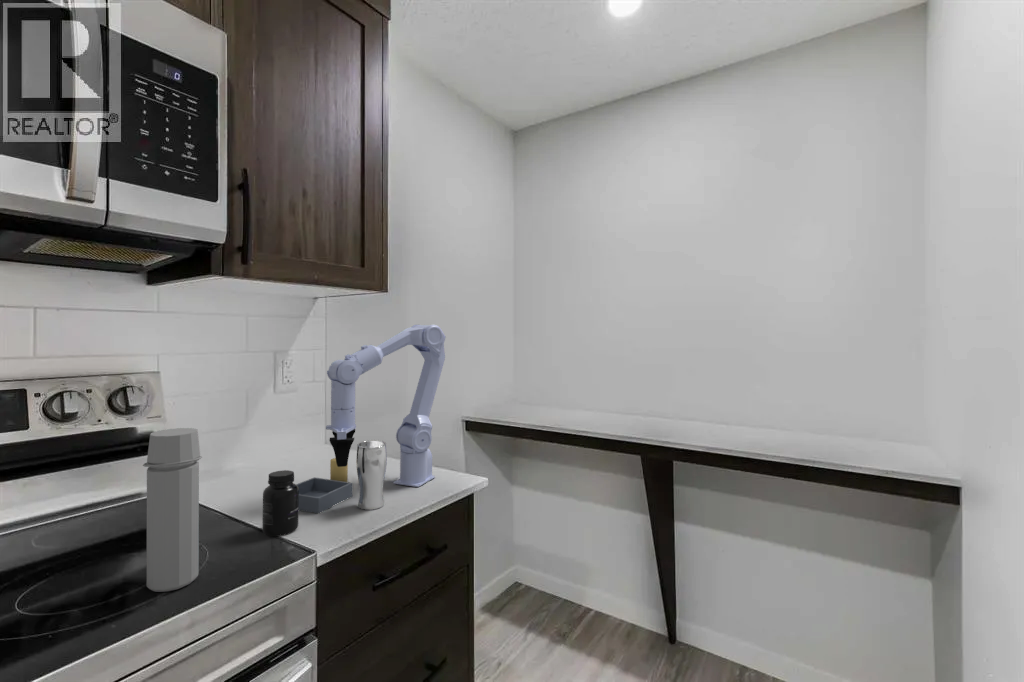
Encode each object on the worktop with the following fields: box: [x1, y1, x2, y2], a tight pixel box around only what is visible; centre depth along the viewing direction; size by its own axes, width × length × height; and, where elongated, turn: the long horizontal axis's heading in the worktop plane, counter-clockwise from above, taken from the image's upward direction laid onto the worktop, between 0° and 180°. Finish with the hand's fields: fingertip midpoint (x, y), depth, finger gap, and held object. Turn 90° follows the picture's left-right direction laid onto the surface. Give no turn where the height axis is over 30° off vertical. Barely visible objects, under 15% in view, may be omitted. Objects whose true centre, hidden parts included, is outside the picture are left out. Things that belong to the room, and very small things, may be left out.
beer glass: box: [355, 439, 388, 511], centre depth 114 cm, size 7×7×15 cm
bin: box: [295, 477, 353, 514], centre depth 116 cm, size 12×12×4 cm
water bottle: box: [142, 427, 203, 593], centre depth 79 cm, size 9×8×25 cm
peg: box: [329, 457, 349, 482], centre depth 129 cm, size 4×4×7 cm
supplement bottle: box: [261, 469, 300, 537], centre depth 99 cm, size 7×7×12 cm
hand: (342, 462), depth 119 cm, fingers open, 7 cm apart
